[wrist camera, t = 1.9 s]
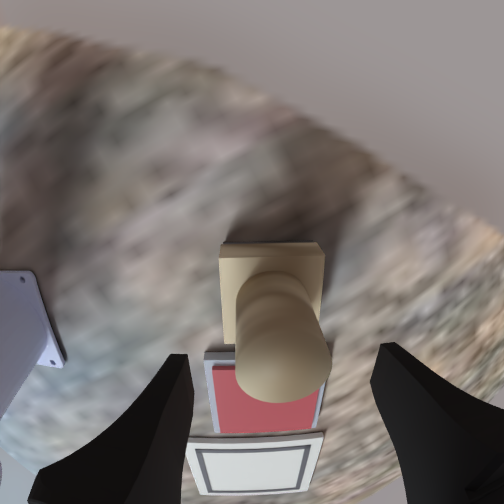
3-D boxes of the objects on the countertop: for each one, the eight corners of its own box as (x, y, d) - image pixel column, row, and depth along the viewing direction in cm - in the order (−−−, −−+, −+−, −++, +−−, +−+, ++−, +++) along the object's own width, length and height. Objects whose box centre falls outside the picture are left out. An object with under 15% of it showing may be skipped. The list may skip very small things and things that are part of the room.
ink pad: (215, 425, 22) (214, 436, 21) (204, 352, 20) (203, 364, 18) (314, 420, 23) (316, 431, 22) (327, 347, 20) (331, 358, 19)
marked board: (200, 490, 28) (200, 495, 27) (182, 437, 23) (181, 443, 22) (306, 486, 28) (307, 491, 27) (322, 432, 24) (323, 438, 23)
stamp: (225, 319, 19) (221, 415, 12) (221, 240, 17) (210, 318, 10) (308, 316, 19) (338, 407, 12) (314, 238, 17) (360, 311, 10)
